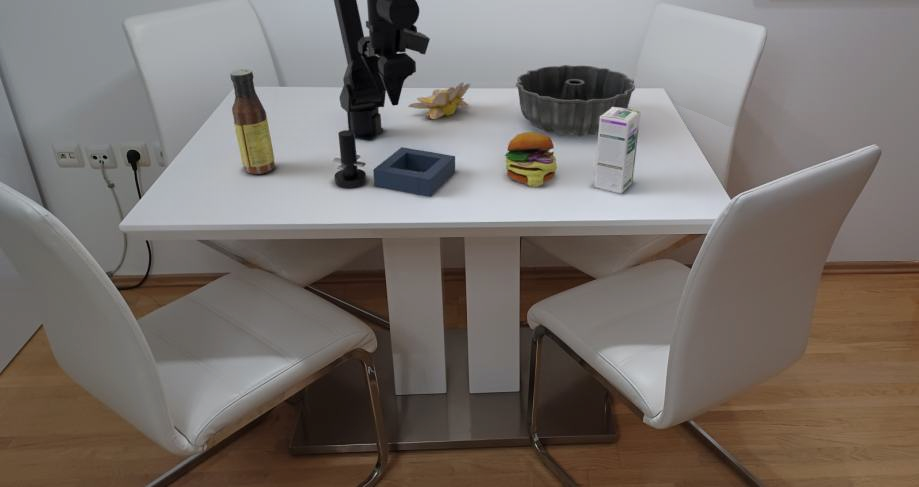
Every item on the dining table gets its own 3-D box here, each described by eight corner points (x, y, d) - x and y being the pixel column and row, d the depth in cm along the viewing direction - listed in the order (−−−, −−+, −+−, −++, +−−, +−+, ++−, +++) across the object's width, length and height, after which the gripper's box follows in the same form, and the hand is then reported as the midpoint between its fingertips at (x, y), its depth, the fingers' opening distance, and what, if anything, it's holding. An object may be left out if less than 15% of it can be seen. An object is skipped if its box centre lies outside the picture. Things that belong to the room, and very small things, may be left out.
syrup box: (621, 194, 134) (631, 120, 126) (592, 187, 136) (599, 114, 129) (632, 183, 138) (642, 110, 130) (603, 176, 140) (611, 105, 133)
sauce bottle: (281, 165, 145) (268, 68, 135) (264, 177, 140) (249, 78, 130) (253, 161, 147) (238, 65, 137) (236, 173, 142) (218, 74, 132)
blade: (326, 185, 137) (321, 136, 132) (344, 172, 142) (340, 124, 137) (357, 191, 135) (352, 141, 130) (374, 177, 140) (370, 129, 135)
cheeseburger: (508, 189, 135) (507, 136, 132) (501, 178, 145) (500, 129, 142) (561, 186, 136) (561, 133, 133) (550, 176, 146) (550, 126, 143)
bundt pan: (499, 135, 159) (500, 91, 154) (532, 99, 180) (534, 59, 175) (618, 152, 151) (624, 106, 146) (638, 111, 172) (643, 70, 167)
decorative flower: (447, 91, 180) (451, 55, 173) (479, 112, 174) (484, 75, 168) (402, 110, 171) (404, 73, 164) (434, 132, 166) (438, 95, 159)
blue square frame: (374, 186, 137) (373, 169, 135) (402, 162, 146) (401, 146, 145) (430, 196, 133) (429, 179, 131) (455, 172, 142) (455, 155, 141)
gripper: (441, 24, 129) (442, 107, 137) (408, 3, 144) (411, 79, 152) (382, 30, 125) (386, 115, 133) (354, 8, 140) (360, 86, 148)
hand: (388, 97), depth 142 cm, fingers open, 9 cm apart
